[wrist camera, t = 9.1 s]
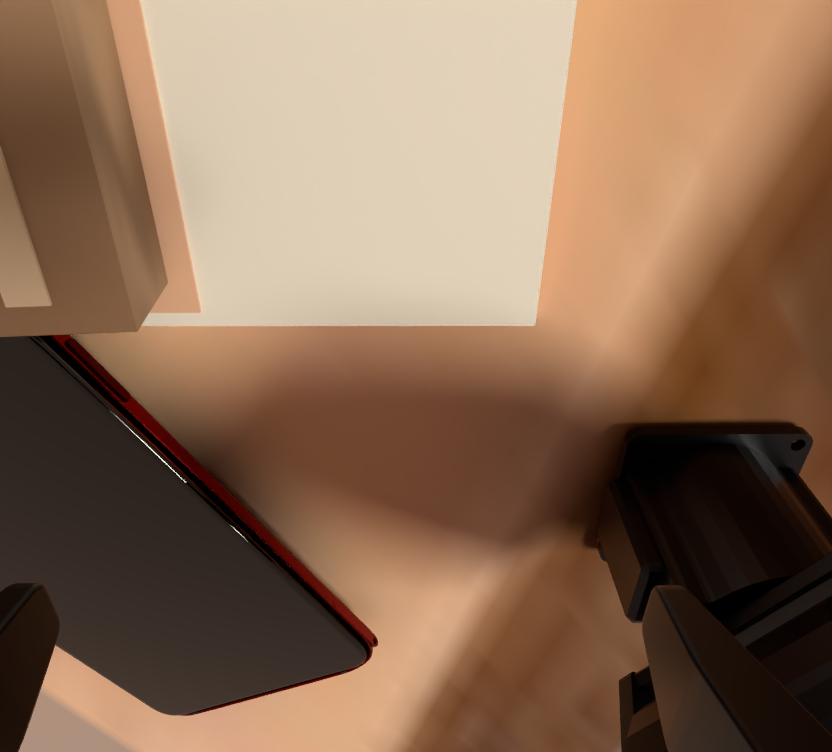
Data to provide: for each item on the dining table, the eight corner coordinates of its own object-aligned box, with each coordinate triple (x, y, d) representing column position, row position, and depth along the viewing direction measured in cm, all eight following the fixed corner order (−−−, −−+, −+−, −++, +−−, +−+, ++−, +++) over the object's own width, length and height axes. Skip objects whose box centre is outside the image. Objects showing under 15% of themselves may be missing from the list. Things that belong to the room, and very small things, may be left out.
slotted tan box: (168, 283, 18) (136, 333, 15) (2, 288, 18) (-61, 341, 15) (92, -61, 14) (30, -73, 11) (-128, -62, 13) (-245, -74, 11)
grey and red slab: (168, 729, 30) (-440, 338, 18) (179, 696, 32) (-381, 310, 19) (389, 669, 27) (-188, 117, 14) (392, 634, 28) (-136, 101, 15)
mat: (612, -332, 12) (623, -347, 12) (531, 316, 20) (535, 327, 19) (-299, -353, 12) (-334, -368, 11) (-21, 316, 20) (-34, 327, 19)
